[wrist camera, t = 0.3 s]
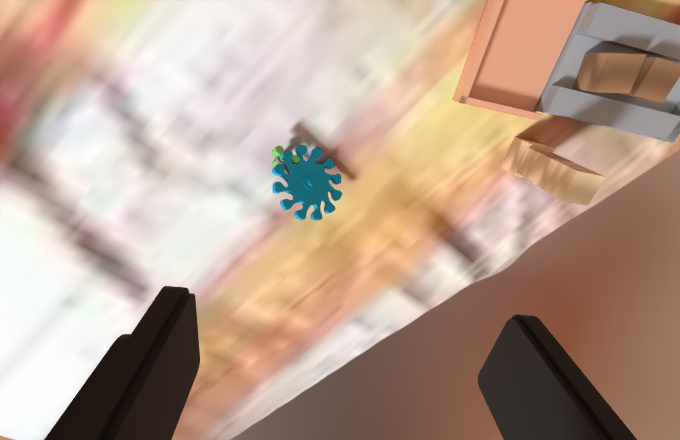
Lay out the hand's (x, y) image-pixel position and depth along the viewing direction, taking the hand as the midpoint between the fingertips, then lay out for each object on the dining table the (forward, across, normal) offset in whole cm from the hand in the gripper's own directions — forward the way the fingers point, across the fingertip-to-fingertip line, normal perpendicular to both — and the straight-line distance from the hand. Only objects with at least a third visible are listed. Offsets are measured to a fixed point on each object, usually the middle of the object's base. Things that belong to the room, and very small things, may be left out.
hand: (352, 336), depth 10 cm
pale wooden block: (+36, -27, +1) cm, 45 cm away
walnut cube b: (+35, -32, -10) cm, 48 cm away
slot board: (+36, -36, -10) cm, 52 cm away
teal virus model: (+36, +2, +8) cm, 37 cm away
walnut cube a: (+35, -36, -10) cm, 51 cm away
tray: (+36, -21, -11) cm, 43 cm away
